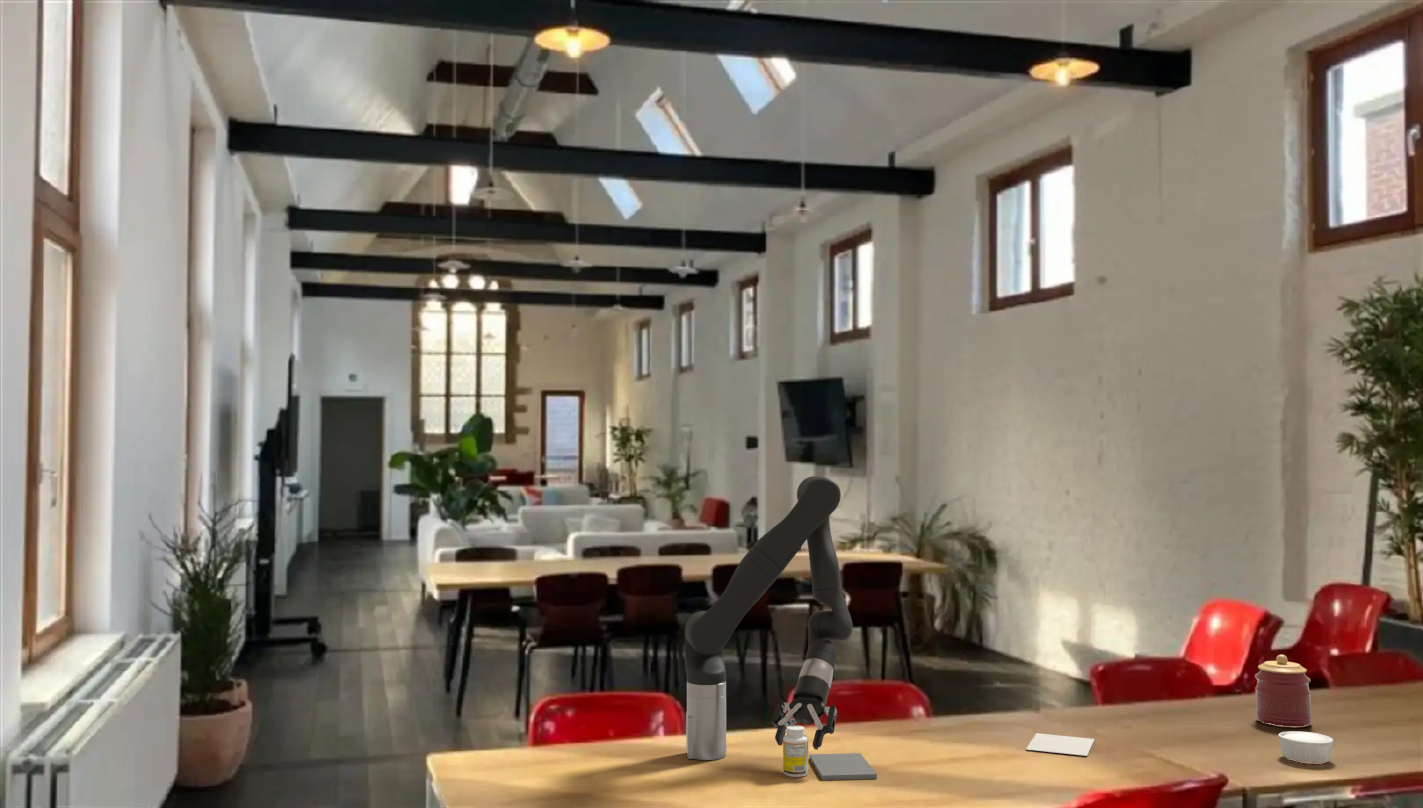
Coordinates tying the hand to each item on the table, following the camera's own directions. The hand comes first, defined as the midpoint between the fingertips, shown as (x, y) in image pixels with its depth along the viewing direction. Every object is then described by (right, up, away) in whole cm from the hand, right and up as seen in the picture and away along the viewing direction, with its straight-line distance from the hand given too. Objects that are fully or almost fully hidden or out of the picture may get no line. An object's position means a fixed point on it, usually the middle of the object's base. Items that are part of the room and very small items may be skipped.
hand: (796, 745), depth 246 cm
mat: (+10, -6, +4) cm, 13 cm away
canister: (+130, -8, +44) cm, 138 cm away
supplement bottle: (0, -6, -1) cm, 6 cm away
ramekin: (+118, -6, +9) cm, 118 cm away
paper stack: (+68, -7, +17) cm, 70 cm away
